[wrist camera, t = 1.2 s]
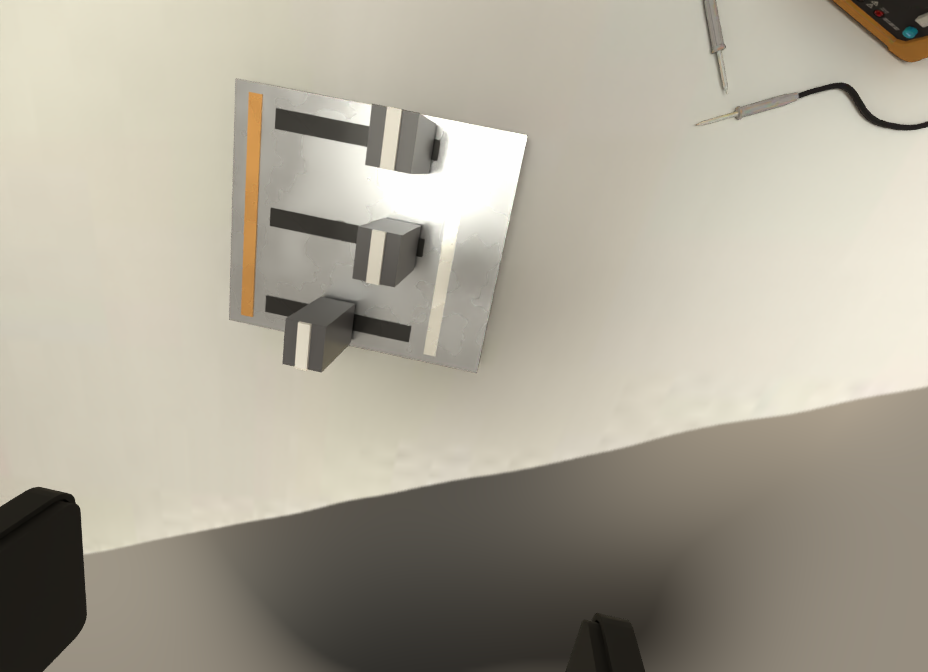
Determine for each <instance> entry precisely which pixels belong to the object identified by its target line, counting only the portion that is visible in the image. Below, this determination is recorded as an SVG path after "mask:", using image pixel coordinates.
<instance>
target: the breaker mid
mask: <svg viewBox="0 0 928 672" xmlns="http://www.w3.org/2000/svg"><path fill="white" fill-rule="evenodd" d="M420 228H421V225H416V224H412V223H407V222H402V221H397V220H392V219H387V218H382V219H379V220H376V221H373V222H370V223H367V224H363V225H360V226H358V232H357V241H356V249H355V258H354V267H353V276H352V279H356V280H361V281H366V283H370V284H375V285H385V286H390V287H396V286H397V285H398V284H399V283H400V282H401V281H402V280H403V279H404V278H406V277H407V276H408V275H409V274H410V273H411V272H412V271H413V270H414V267H415V260H416V254H417V247H418V241H419V234H420Z"/></svg>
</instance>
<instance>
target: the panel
mask: <svg viewBox="0 0 928 672" xmlns="http://www.w3.org/2000/svg"><path fill="white" fill-rule="evenodd" d="M371 107H372V105H370V104H365V103H360V102H354V101H349V100H344V99H339V98H334V97H329V96H324V95H319V94H313V93H308V92H303V91H298V90H293V89H288V88H283V87H278V86H272V85H267V84H262V83H257V82H252V81H247V80H242V79H237V78H236V83H235V120H234V158H233V195H232V233H231V270H230V308H229V320H233V321H237V322H242V323H247V324H251V325H256V326H260V327H265V328H270V329H274V330H279V331H284V332H285V321H286V318H287V317H289V316H290V315H292V314H293V313H295V312H297V311H298V310H300V309H302V308H303V307H305V306H306V305H308V304H310V303H311V302H313V301H314V300H316V299H318V298H319V297H325V298H330V299H335V300H340V301H344V302H349V303H354V304H355V310H354V318H353V327H352V335H351V343H350V344H349V346H353V347H358V348H363V349H367V350H372V351H377V352H381V353H386V354H390V355H395V356H400V357H404V358H409V359H414V360H418V361H423V362H428V363H432V364H437V365H442V366H446V367H451V368H455V369H460V370H465V371H469V372H474V373H477V370H478V365H479V360H480V356H481V351H482V346H483V342H484V337H485V332H486V328H487V323H488V318H489V314H490V309H491V304H492V300H493V295H494V290H495V286H496V281H497V276H498V271H499V267H500V262H501V257H502V253H503V248H504V243H505V239H506V234H507V229H508V225H509V220H510V215H511V211H512V206H513V201H514V197H515V192H516V187H517V182H518V178H519V173H520V168H521V164H522V159H523V154H524V150H525V145H526V140H527V136H528V135H524V134H519V133H513V132H508V131H503V130H498V129H493V128H488V127H483V126H478V125H472V124H467V123H462V122H457V121H452V120H447V119H442V118H437V117H431V116H426V115H423V116H425V117H427V118H428V119H430V120H431V121H433V122H435V123H436V131H435V137H434V144H433V150H432V156H431V163H430V169H429V174H407V173H402V172H397V171H391V170H386V169H381V168H377V167H372V166H367V165H365V160H366V151H367V142H368V134H369V125H370V116H371ZM382 218H387V219H392V220H397V221H402V222H407V223H412V224H416V225H421V228H420V234H419V241H418V247H417V254H416V260H415V267H414V270H413V271H412V272H411V273H410V274H409V275H408V276H407V277H406V278H404V279H403V280H402V281H401V282H400V283H399V284H398V285H397V286H396V287H390V286H385V285H375V284H370V283H366V281H361V280H356V279H352V276H353V267H354V258H355V249H356V241H357V232H358V226H360V225H363V224H367V223H370V222H373V221H376V220H379V219H382Z"/></svg>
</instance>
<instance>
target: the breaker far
mask: <svg viewBox="0 0 928 672" xmlns="http://www.w3.org/2000/svg"><path fill="white" fill-rule="evenodd" d="M354 310H355V304H354V303H349V302H344V301H340V300H335V299H330V298H325V297H319V298H318V299H316V300H314V301H313V302H311V303H310V304H308V305H306V306H305V307H303V308H302V309H300V310H298V311H297V312H295V313H293V314H292V315H290V316H289V317H287V318H286V321H285V336H284V350H283V364H286V365H290V366H295V369H300V370H304V371H307V370H308V369H309V370H313V371H318V372H322V371H323V370H324V369H325V368H326V367H327V366H328V365H329V364H330V363H331V362H332V361H333V360H334V359H335V358H336V357H337V356H338V355H339V354H340V353H341V352H342V351H343V350H344V349H345V348H346V347H347V346H348V345H349V344H350V343H351V335H352V327H353V318H354Z"/></svg>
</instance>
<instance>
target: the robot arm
mask: <svg viewBox="0 0 928 672" xmlns="http://www.w3.org/2000/svg"><path fill="white" fill-rule="evenodd" d="M84 578H85V577H84V562H83V545H82V528H81V512H80V507H79V506H78V505H77V504H76V502H75V498H74V497H73V496H72V495H71V494H68V493H64V492H60V491H55V490H51V489H46V488H42V487H35V488H31V489H29V490H27V491H25V492H23V493H22V494H20V495H19V496H17V497H15V498H14V499H12V500H10V501H9V502H7V503H6V504H4V505H2V506H1V507H0V672H43V671H44V670H45V669H46V668H47V666H49V665H50V664H51V663H52V662H53V660H54V659H55V658H56V657H57V656H58V655H59V654H60V653H61V652H62V651H63V650H64V649H65V648H66V647H67V646H68V645H69V644H70V643H71V642H72V641H73V640H74V639H75V638H76V637H77V635H78V634H79V633H80V631H81V630H82V628H83V626H84V624H85V621H86V616H87V612H86V611H87V610H86V593H85V579H84ZM566 672H645V669H644V666H643V662H642V659H641V655H640V651H639V648H638V644H637V641H636V637H635V634H634V630H633V627H632V624H631V623H630V622H629V620H625V619H621V618H616V617H612V616H608V615H603V614H599V613H596V614H595V615H594V617H593V619H592V621H588V620H583V622H582V624H581V627H580V629H579V633H578V636H577V638H576V641H575V644H574V647H573V650H572V653H571V656H570V660H569V662H568V665H567V668H566Z"/></svg>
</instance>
